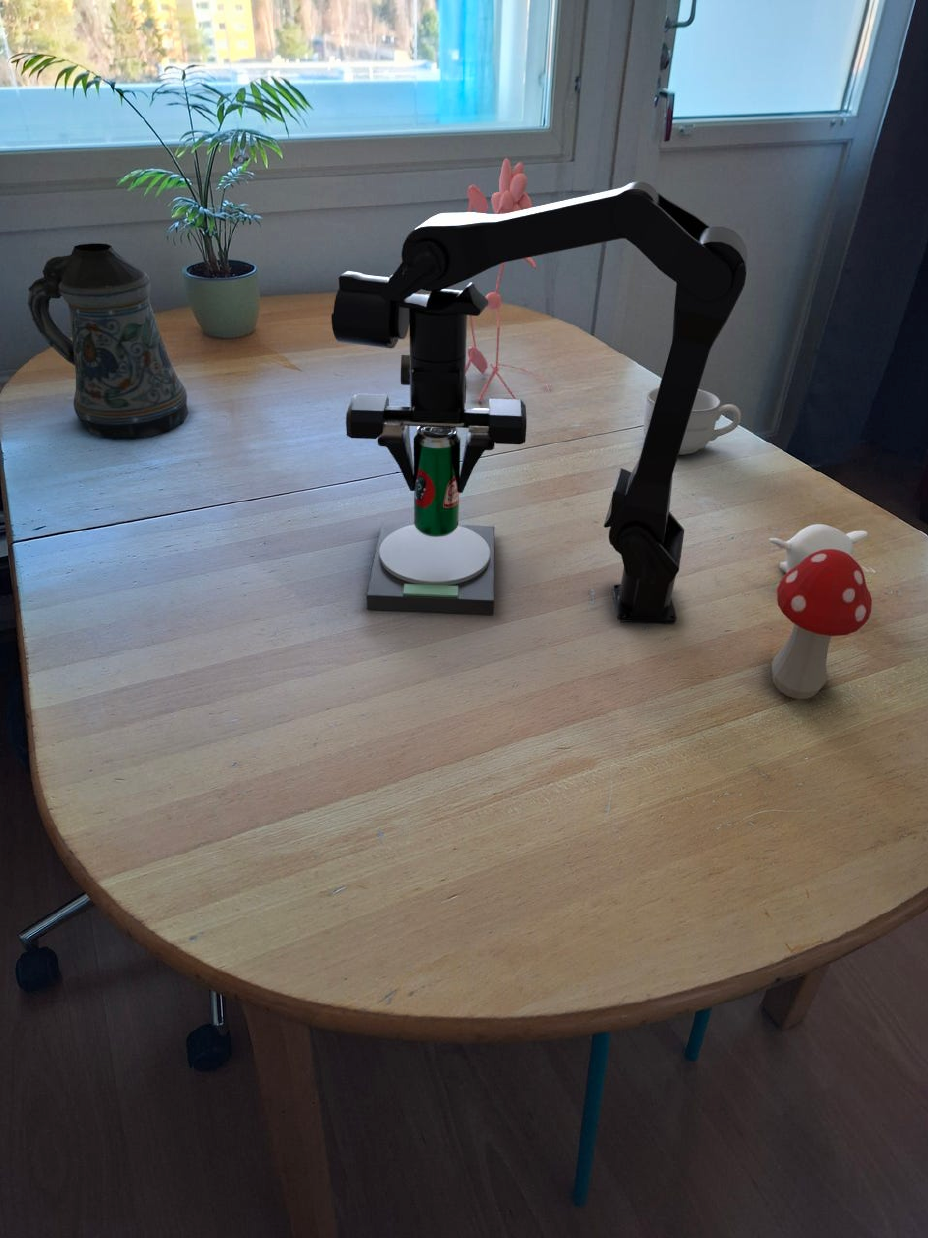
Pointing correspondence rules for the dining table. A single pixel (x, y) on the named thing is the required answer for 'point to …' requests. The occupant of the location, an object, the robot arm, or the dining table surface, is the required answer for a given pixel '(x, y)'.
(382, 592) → the kitchen scale
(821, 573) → the decorative mushroom
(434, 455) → the soda can
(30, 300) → the beer stein
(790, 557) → the figurine
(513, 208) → the figurine
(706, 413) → the teacup
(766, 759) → the dining table surface
